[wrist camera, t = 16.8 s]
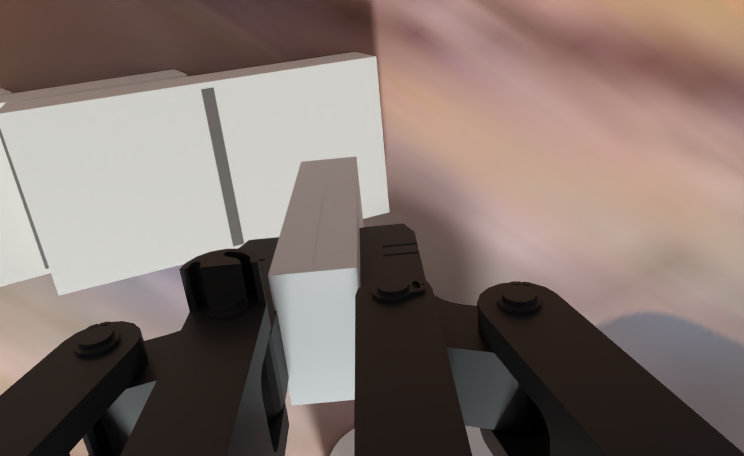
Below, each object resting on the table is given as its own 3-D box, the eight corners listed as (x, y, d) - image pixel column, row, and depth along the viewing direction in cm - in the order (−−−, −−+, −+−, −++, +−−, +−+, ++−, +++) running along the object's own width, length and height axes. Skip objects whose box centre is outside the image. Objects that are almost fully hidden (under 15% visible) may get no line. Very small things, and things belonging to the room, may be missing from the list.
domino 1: (204, 212, 25) (-145, 303, 20) (174, 69, 23) (-232, 129, 18) (218, 227, 23) (-159, 330, 18) (186, 74, 21) (-257, 142, 16)
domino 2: (369, 197, 25) (62, 271, 21) (355, 51, 23) (4, 103, 19) (389, 212, 23) (58, 295, 19) (376, 56, 21) (-5, 114, 17)
